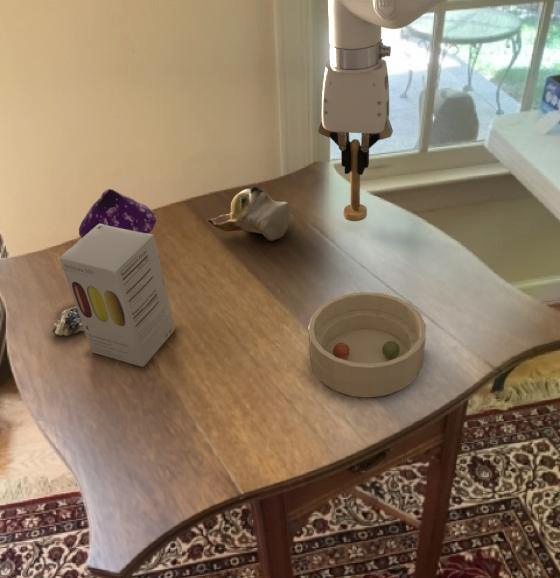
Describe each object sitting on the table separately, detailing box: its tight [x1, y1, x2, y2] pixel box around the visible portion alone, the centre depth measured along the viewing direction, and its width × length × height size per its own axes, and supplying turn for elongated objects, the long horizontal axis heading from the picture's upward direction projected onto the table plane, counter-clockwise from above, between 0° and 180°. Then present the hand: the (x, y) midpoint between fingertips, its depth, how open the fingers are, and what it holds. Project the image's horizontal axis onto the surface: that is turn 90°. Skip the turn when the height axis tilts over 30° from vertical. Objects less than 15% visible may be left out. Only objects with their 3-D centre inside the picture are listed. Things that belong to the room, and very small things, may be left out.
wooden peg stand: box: [343, 138, 368, 222], centre depth 111 cm, size 4×4×14 cm
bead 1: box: [333, 343, 350, 360], centre depth 91 cm, size 2×2×2 cm
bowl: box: [307, 291, 427, 398], centre depth 90 cm, size 15×15×6 cm
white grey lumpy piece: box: [51, 305, 85, 337], centre depth 102 cm, size 7×8×2 cm
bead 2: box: [382, 341, 400, 359], centre depth 90 cm, size 2×2×2 cm
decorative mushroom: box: [78, 188, 157, 239], centre depth 106 cm, size 12×12×15 cm
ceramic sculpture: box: [206, 186, 291, 242], centre depth 115 cm, size 11×9×15 cm
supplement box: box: [59, 224, 176, 368], centre depth 92 cm, size 10×9×17 cm
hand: (355, 170), depth 110 cm, fingers closed on wooden peg stand, 1 cm apart
